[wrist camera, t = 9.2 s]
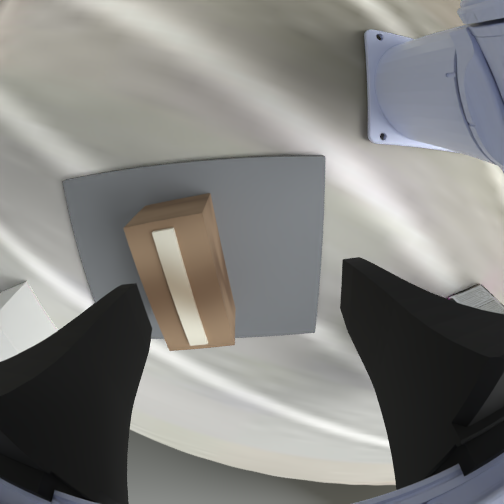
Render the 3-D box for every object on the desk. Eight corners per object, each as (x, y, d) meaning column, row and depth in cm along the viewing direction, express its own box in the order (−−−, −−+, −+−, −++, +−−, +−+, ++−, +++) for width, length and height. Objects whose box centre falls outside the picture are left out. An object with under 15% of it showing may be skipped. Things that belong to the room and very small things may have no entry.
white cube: (27, 280, 22) (-7, 317, 16) (59, 330, 24) (33, 371, 19) (-2, 292, 22) (-32, 326, 17) (27, 337, 25) (3, 373, 19)
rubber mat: (323, 155, 18) (325, 156, 18) (313, 328, 24) (314, 332, 24) (66, 179, 18) (62, 181, 18) (110, 333, 24) (108, 336, 24)
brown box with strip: (235, 308, 22) (234, 346, 19) (179, 315, 23) (169, 352, 19) (210, 192, 18) (201, 214, 15) (144, 205, 19) (122, 229, 15)
